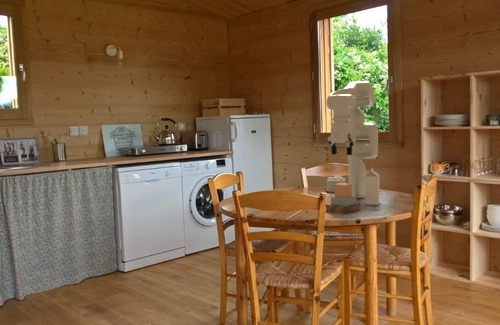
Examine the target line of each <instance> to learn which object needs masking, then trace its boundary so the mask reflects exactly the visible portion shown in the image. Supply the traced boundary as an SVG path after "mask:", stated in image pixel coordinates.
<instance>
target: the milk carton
mask: <svg viewBox="0 0 500 325" xmlns="http://www.w3.org/2000/svg"><path fill="white" fill-rule="evenodd" d="M373 168H374V167H371V169H370V170H366V175H365V177H364V183H365V198H364V205H367V206H368V205H372V206H373V205H374V206H375V205H376V206H377V205H378V206H379V205H380V198H381V197H380V174H379V173H378V172H377V171H375V170H374V169H373Z"/></svg>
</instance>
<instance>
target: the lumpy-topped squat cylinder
mask: <svg viewBox="0 0 500 325" xmlns="http://www.w3.org/2000/svg"><path fill="white" fill-rule="evenodd" d="M339 183H346V178H344V177H342V176H337V175H334V176H333V177H331V176H329V177H327V179H326V191H327V192H328V193H335V184H339Z"/></svg>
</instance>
